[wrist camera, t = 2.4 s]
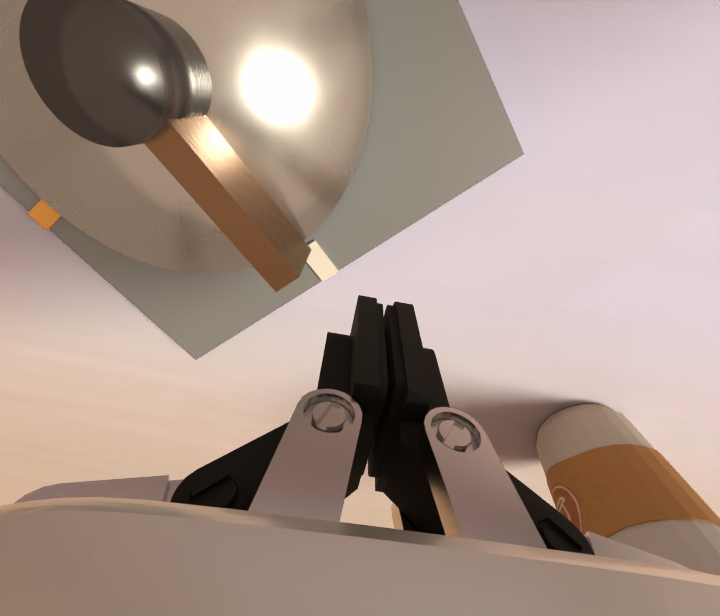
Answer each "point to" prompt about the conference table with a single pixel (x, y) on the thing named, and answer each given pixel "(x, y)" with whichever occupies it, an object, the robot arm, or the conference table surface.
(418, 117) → the dial plate
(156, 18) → the dial
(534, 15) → the conference table surface
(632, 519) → the coffee cup
